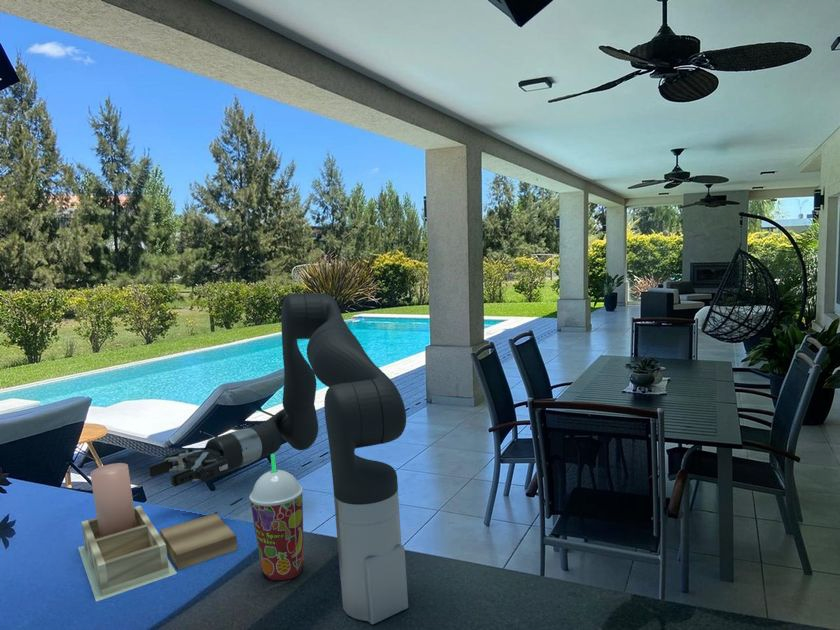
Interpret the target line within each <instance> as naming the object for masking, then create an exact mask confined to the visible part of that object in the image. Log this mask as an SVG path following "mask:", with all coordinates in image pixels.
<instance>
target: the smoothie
mask: <svg viewBox="0 0 840 630" xmlns="http://www.w3.org/2000/svg"><path fill="white" fill-rule="evenodd" d="M270 461H271V470H269V471H266V472H265V473H263V474H262V475H260V476H259V478H258V479H256V482H255V484H254V486H253V489H252V491H251V492H250V494H249V497H248V498H249V500H250V501H249V502H250V507H251V513H252V521H253V525H254V530H255V532H254V533H255V539H256V543H257V550H258V556H259V562H260V567H261V570H262V573H264V574H265V576H266V578H268V579H269V580H273V581H284V582H285V581H288V580H291V579H293V578H296V577H297V576H299V575H300V573H301V571H302V567H303V566H304V564H305V556H304V555H305V554H304V551H305V549H304V546H305V545H304V509H303V507H304V506H303V505H304V504H303V501H304V500H303V492H304V491H303V487H302V485H301V484H300V483H299V482H298V480H297V478H296V477H295V476H294V475H293V474H291V472H288V471H287V470H283V469H277V464H276V463H277V461H276V455H275V453H273V454H270Z"/></svg>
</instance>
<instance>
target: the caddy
mask: <svg viewBox="0 0 840 630" xmlns="http://www.w3.org/2000/svg"><path fill="white" fill-rule="evenodd" d="M134 512H135V519H136V526H137V527H135V528H132V529H128V530H125V531H121V532H118V533H115V534H111V535H108V536H105V537H101V538H100V535H99V529H98V522H97V517H93V518H91V519H86V520H83V521H81V528H82V529H81V530H82V535H83V536H82V537H83V546H85V550H86V552H87V555H88V558H89V561H90V563H91V566H92V569H93V572H94V574H95V577H96V580H97V583H98V586H99V588H100V591H101V594H102V596H104V595H107V594H110V593H113V592H116V591H119V590H122V589H125V588H127V587H130V586H133V585H136V584H139V583H142V582H145V581H148V580H151V579H154V578H157V577H159V576H162V575H165V574H168V573H169V566H168V560H169V559H168V553H167V549H166V544H165V542H164V541H163V539H162V538H161V534H160V532H158V530H157V529H156V527H155V525H154V524H153V522H152V521H151V520H150V518H149V517H148V516H149V515H148V514H146V512H145V510H144V509H143V507H142V505H137V506H134Z"/></svg>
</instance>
